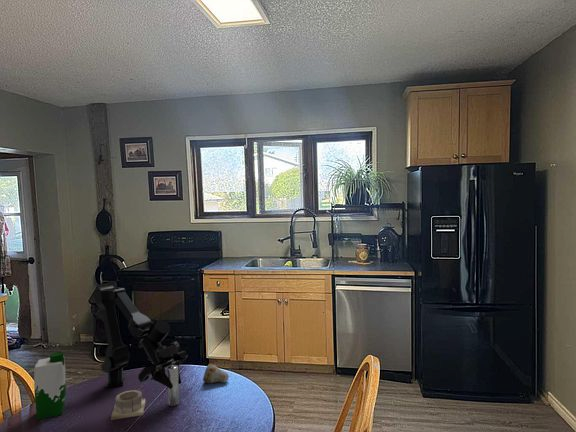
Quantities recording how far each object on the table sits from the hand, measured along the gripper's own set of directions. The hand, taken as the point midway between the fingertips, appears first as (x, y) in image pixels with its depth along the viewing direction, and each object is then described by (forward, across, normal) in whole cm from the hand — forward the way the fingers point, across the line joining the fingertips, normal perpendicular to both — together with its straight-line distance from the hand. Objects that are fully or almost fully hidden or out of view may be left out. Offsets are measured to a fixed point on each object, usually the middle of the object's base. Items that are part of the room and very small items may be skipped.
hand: (176, 385), depth 135 cm
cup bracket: (-4, -10, +14) cm, 18 cm away
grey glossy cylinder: (+4, 0, +6) cm, 7 cm away
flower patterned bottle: (+5, +21, +6) cm, 23 cm away
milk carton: (-20, -24, +30) cm, 43 cm away
